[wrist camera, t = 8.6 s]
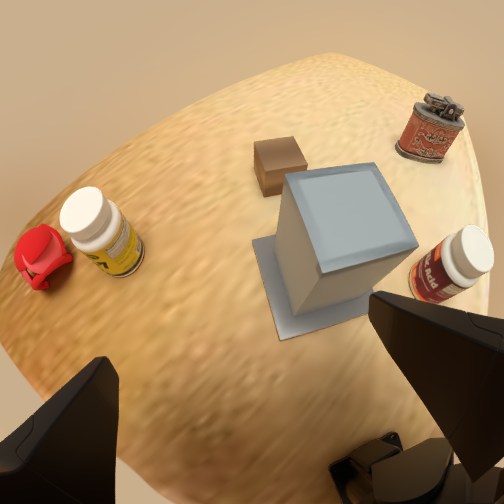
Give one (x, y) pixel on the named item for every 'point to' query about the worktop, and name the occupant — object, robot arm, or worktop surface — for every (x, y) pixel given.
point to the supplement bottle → (101, 232)
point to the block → (276, 163)
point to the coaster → (281, 306)
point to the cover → (338, 235)
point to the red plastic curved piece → (40, 254)
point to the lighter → (431, 129)
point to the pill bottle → (452, 265)
